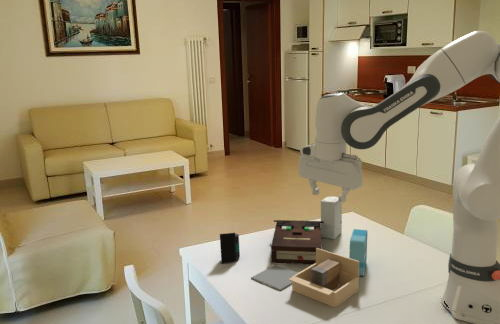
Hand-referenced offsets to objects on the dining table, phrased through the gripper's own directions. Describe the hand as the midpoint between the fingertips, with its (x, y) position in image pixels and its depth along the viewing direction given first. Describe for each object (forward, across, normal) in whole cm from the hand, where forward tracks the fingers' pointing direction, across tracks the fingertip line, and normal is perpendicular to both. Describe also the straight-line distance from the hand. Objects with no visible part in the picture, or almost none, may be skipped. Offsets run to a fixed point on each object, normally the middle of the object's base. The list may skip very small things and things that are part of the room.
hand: (328, 197), depth 133 cm
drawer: (+29, -1, +2) cm, 29 cm away
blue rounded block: (+29, 0, -18) cm, 34 cm away
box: (+29, -1, +1) cm, 29 cm away
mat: (+29, +15, +5) cm, 33 cm away
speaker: (+30, +37, +6) cm, 48 cm away
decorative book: (+30, +25, -17) cm, 42 cm away
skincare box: (+29, +24, -36) cm, 52 cm away
